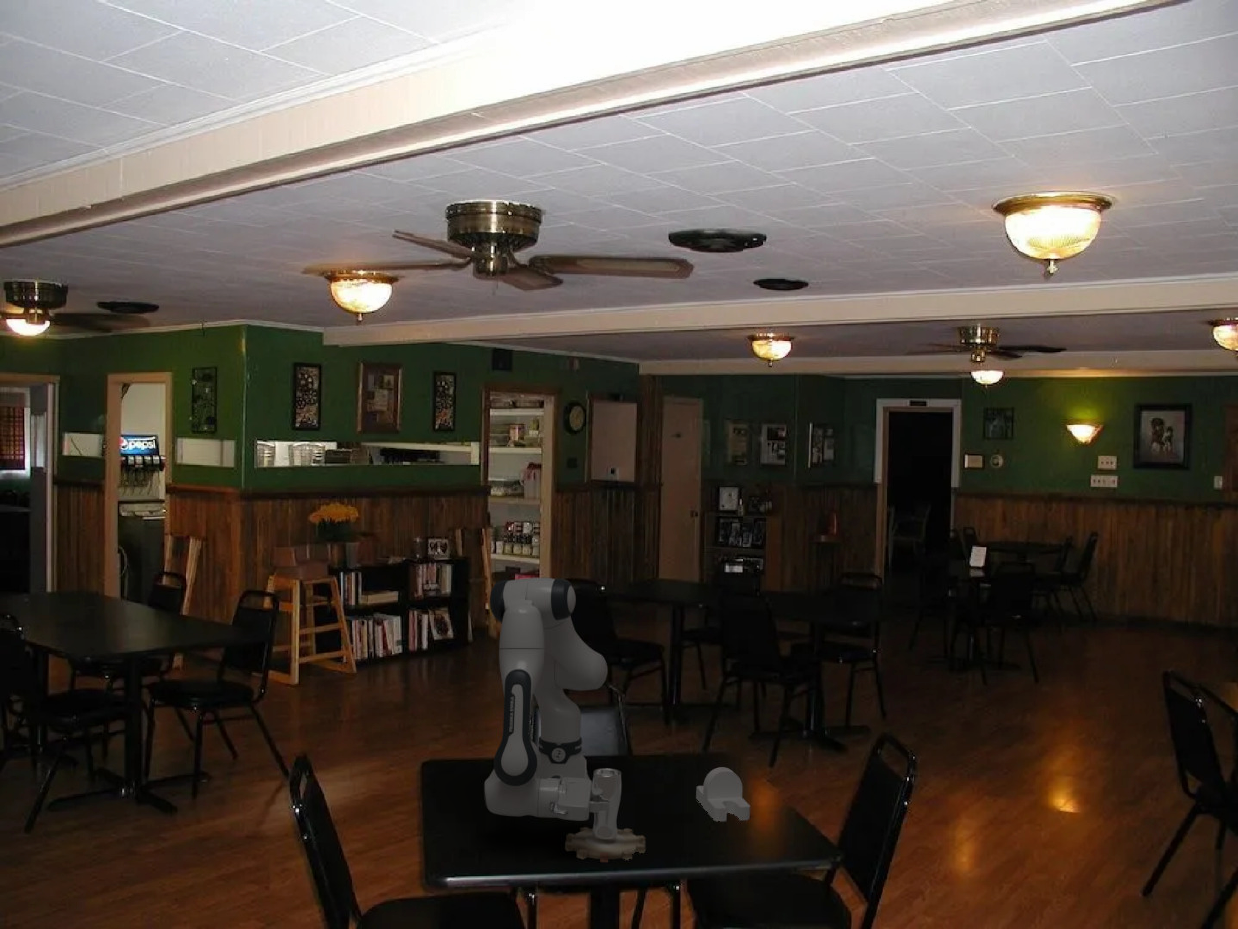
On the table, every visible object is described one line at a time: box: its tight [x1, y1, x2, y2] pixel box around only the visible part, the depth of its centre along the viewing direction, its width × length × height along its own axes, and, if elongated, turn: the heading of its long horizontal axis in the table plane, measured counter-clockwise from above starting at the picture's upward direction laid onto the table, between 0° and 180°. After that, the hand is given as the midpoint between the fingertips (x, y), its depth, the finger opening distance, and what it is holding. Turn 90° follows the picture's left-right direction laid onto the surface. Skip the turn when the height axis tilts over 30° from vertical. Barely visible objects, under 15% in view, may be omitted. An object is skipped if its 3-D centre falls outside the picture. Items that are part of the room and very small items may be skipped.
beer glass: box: [591, 767, 622, 839], centre depth 262 cm, size 7×7×15 cm
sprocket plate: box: [564, 826, 646, 863], centre depth 263 cm, size 19×19×2 cm
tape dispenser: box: [695, 766, 751, 822], centre depth 291 cm, size 10×18×11 cm, turn 13°
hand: (609, 800), depth 262 cm, fingers closed on beer glass, 6 cm apart
